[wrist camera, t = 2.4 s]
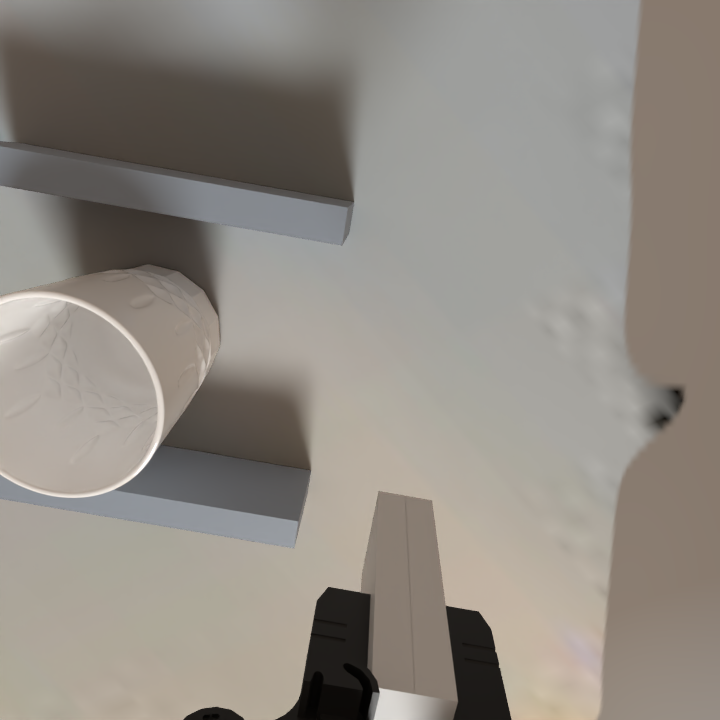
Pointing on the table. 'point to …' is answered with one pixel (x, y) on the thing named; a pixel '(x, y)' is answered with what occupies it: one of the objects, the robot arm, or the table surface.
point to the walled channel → (169, 464)
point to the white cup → (98, 375)
